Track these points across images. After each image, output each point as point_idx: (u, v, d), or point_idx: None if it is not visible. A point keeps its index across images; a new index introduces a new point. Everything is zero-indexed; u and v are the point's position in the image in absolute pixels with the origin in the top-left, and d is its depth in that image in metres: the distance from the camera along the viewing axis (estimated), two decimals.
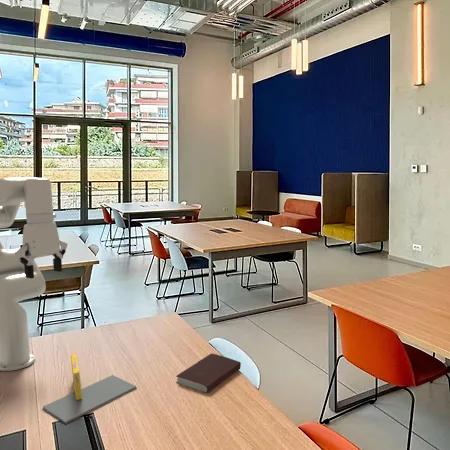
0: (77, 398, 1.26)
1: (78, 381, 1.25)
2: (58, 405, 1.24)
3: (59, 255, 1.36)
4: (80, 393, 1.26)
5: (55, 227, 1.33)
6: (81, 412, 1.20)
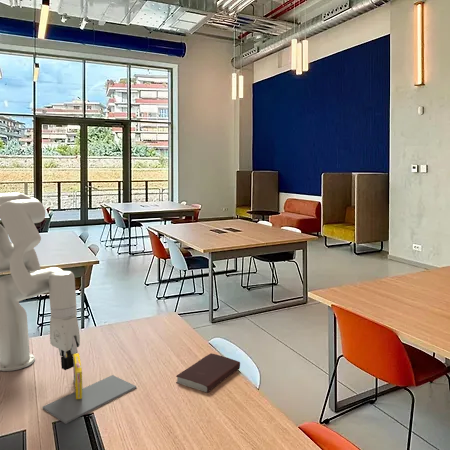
0: (77, 397, 1.26)
1: (80, 380, 1.26)
2: (58, 405, 1.24)
3: None
4: (81, 393, 1.26)
5: None
6: (81, 412, 1.20)
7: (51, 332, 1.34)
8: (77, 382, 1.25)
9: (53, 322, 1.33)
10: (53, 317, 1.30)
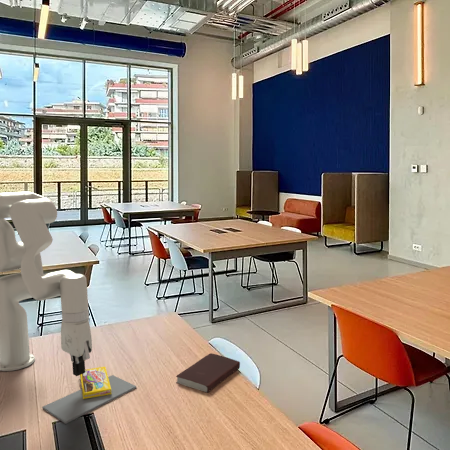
0: (84, 395, 1.26)
1: (102, 394, 1.28)
2: (58, 405, 1.24)
3: None
4: (89, 397, 1.27)
5: None
6: (81, 412, 1.20)
7: (62, 337, 1.30)
8: (100, 392, 1.28)
9: (64, 327, 1.29)
10: (65, 322, 1.26)
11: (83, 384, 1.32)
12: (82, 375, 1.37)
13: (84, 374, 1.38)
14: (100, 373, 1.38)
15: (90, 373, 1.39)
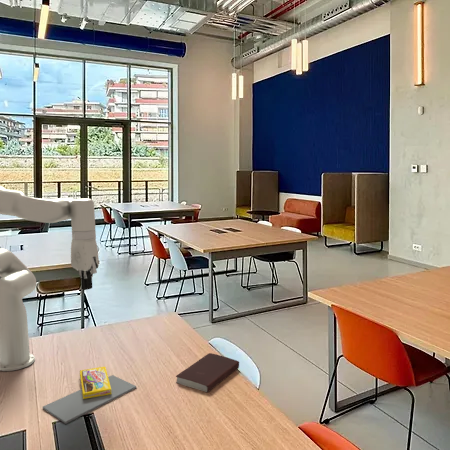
0: (84, 395, 1.26)
1: (102, 394, 1.28)
2: (58, 405, 1.24)
3: None
4: (89, 397, 1.27)
5: None
6: (81, 412, 1.20)
7: (72, 255, 1.46)
8: (100, 392, 1.28)
9: (74, 245, 1.44)
10: (74, 239, 1.42)
11: (83, 384, 1.32)
12: (82, 375, 1.37)
13: (84, 374, 1.38)
14: (100, 373, 1.38)
15: (90, 373, 1.39)
